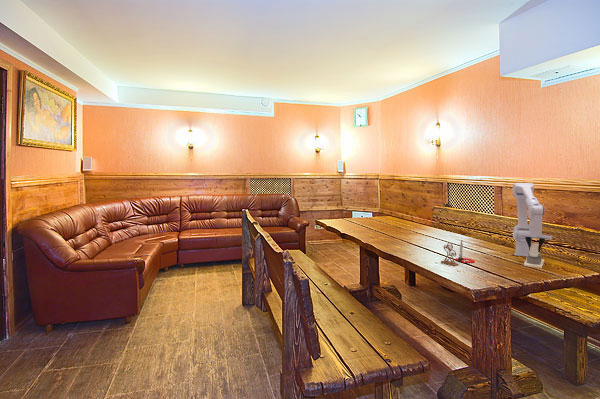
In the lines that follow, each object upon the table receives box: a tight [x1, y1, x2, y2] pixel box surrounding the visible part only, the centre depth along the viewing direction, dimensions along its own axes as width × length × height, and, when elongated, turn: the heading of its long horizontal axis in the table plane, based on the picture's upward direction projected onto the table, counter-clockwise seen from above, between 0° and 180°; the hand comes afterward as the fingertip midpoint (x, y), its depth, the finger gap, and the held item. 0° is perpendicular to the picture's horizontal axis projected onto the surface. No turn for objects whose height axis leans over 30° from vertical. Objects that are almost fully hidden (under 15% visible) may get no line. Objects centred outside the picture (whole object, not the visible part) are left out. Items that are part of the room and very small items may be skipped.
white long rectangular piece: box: [530, 242, 540, 257], centre depth 181 cm, size 12×4×5 cm, turn 140°
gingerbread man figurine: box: [440, 242, 460, 267], centre depth 183 cm, size 9×4×12 cm, turn 26°
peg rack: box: [523, 254, 545, 269], centre depth 181 cm, size 16×8×4 cm, turn 140°
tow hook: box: [454, 239, 476, 264], centre depth 188 cm, size 8×13×9 cm
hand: (534, 251), depth 181 cm, fingers closed on white long rectangular piece, 3 cm apart
